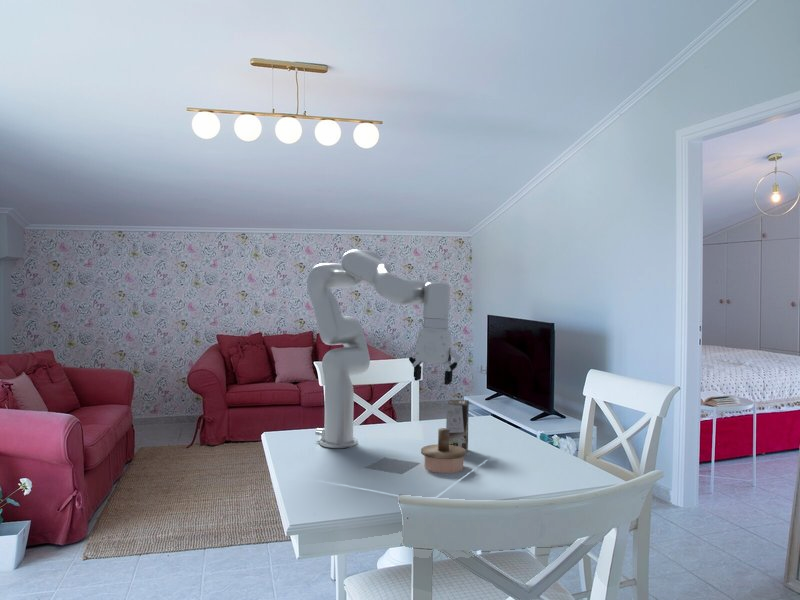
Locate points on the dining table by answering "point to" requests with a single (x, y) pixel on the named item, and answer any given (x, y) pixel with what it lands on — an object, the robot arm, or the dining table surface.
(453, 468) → the bowl
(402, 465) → the mat
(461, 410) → the coffee box
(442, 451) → the lid
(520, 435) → the dining table surface
